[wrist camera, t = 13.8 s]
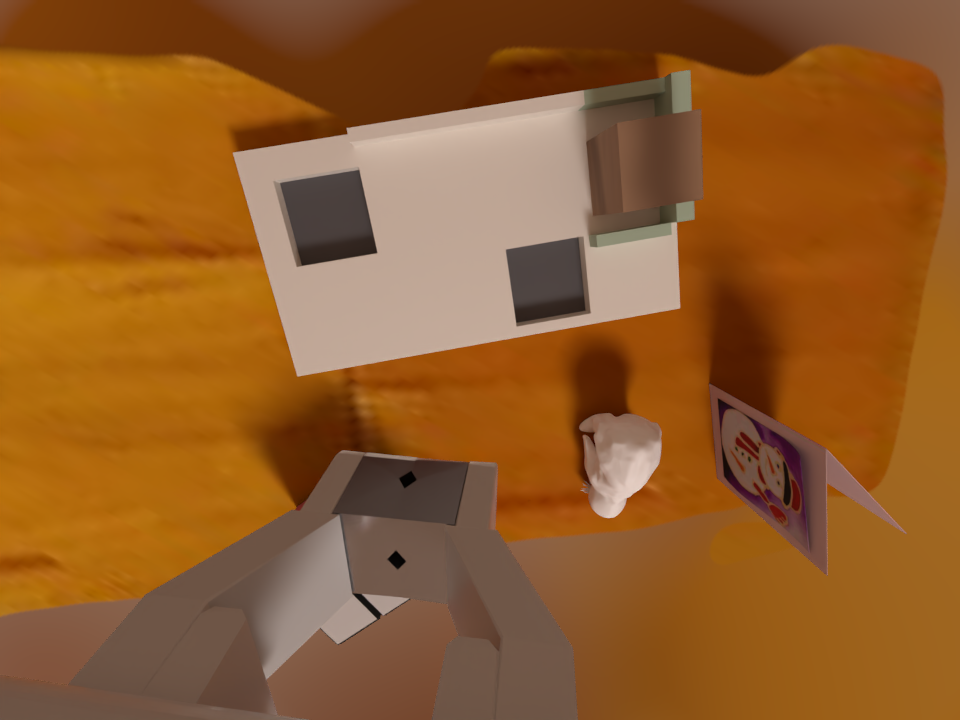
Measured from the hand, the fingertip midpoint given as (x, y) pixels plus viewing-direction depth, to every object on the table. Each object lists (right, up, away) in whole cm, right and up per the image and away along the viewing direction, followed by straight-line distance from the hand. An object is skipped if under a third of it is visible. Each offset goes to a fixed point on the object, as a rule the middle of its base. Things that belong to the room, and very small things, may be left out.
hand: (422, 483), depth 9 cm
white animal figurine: (+14, -7, +40) cm, 43 cm away
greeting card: (+29, -5, +41) cm, 50 cm away
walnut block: (+13, +18, +30) cm, 38 cm away
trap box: (0, +14, +33) cm, 36 cm away
